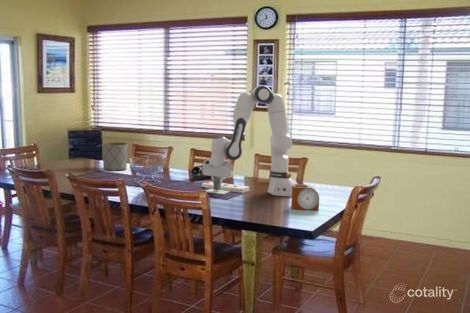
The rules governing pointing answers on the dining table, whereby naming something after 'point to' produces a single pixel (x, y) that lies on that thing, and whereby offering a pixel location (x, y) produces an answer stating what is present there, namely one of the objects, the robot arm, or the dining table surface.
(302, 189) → the alarm clock
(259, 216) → the dining table surface
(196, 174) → the muzzle brake
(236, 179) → the dining table surface
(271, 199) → the dining table surface
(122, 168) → the planter
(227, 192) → the mat
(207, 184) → the socket bar
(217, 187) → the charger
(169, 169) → the dining table surface
